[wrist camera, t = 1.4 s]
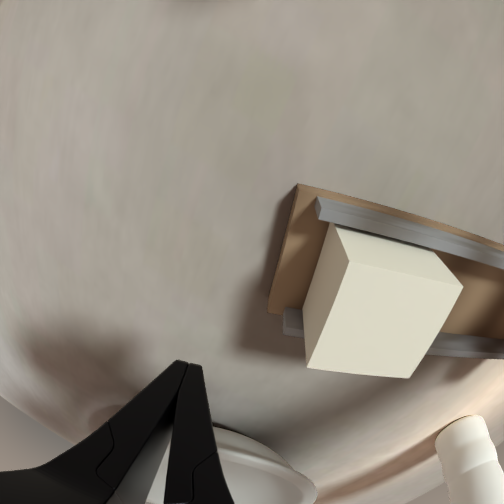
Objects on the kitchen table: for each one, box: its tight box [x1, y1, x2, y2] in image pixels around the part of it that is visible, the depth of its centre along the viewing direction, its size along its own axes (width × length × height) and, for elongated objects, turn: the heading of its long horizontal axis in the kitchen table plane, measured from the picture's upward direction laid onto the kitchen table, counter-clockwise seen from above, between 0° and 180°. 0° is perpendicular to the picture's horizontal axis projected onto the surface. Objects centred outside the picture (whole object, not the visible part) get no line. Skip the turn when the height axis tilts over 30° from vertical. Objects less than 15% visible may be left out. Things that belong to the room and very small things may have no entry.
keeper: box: [302, 222, 463, 378], centre depth 16 cm, size 6×6×5 cm
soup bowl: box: [146, 427, 317, 504], centre depth 28 cm, size 24×24×7 cm
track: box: [267, 184, 504, 359], centre depth 17 cm, size 24×8×6 cm, turn 79°
